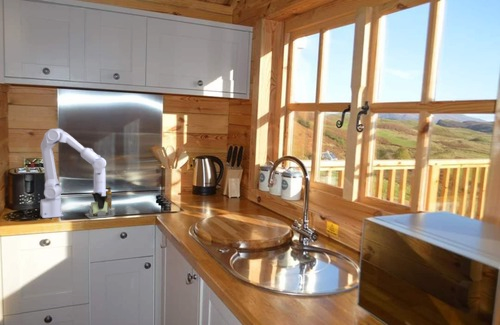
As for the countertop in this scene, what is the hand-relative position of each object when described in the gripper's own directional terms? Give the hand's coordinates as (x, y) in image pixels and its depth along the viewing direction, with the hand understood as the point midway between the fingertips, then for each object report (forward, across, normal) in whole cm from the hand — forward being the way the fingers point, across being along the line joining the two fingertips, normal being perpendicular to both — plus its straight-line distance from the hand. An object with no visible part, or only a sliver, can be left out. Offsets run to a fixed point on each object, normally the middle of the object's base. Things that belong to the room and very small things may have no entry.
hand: (99, 207), depth 213 cm
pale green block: (+2, 0, 0) cm, 2 cm away
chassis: (+4, 0, 0) cm, 4 cm away
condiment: (+4, +16, -8) cm, 18 cm away
